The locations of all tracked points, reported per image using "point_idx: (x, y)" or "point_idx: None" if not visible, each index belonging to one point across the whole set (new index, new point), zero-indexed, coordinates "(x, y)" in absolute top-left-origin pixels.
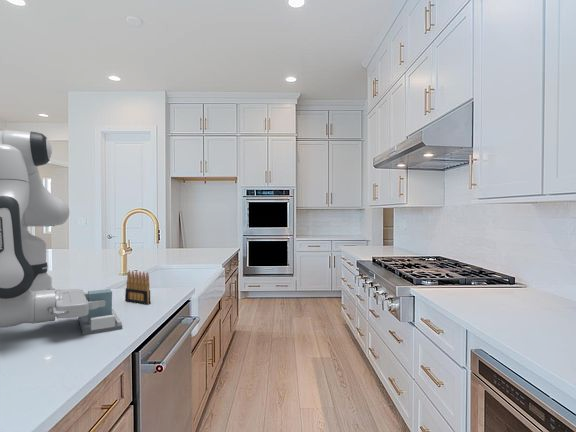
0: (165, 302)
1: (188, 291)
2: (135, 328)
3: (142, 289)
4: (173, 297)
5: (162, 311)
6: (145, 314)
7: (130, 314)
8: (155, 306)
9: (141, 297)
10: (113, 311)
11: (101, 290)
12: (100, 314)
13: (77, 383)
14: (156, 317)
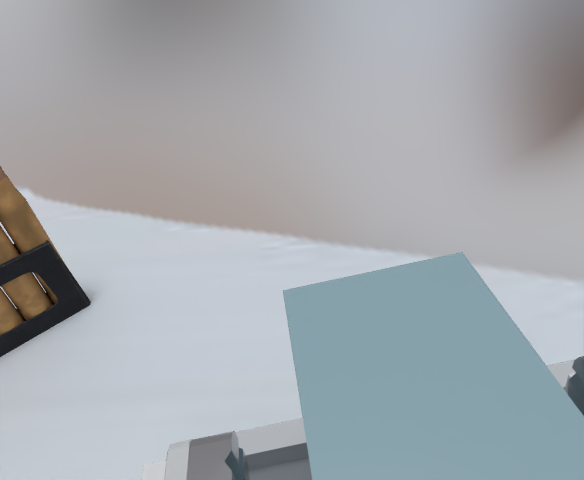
0: (113, 243)
1: None
2: (557, 321)
3: (5, 253)
4: (55, 226)
5: (263, 243)
6: (280, 297)
7: (238, 364)
8: (153, 271)
9: (28, 298)
10: (253, 435)
11: (342, 360)
12: None
13: None
14: (359, 256)
